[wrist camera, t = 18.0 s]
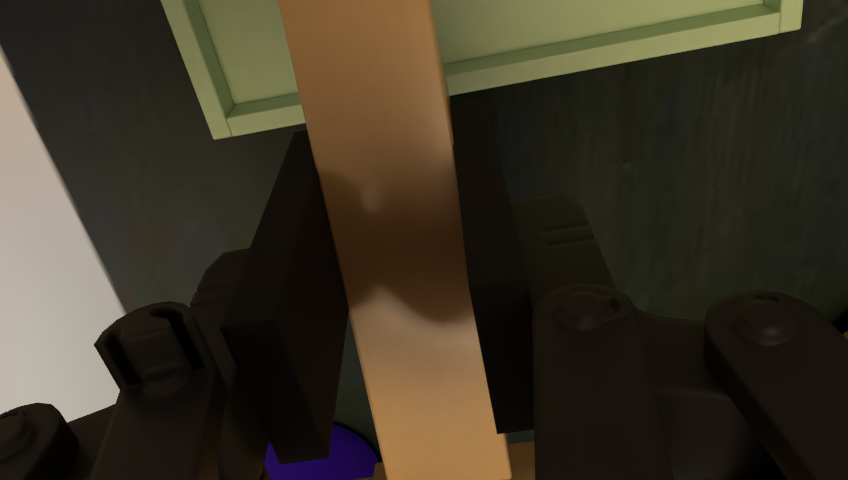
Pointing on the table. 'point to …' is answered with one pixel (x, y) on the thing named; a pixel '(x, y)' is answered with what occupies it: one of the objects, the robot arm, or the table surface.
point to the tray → (454, 45)
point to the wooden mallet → (399, 233)
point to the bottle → (328, 461)
